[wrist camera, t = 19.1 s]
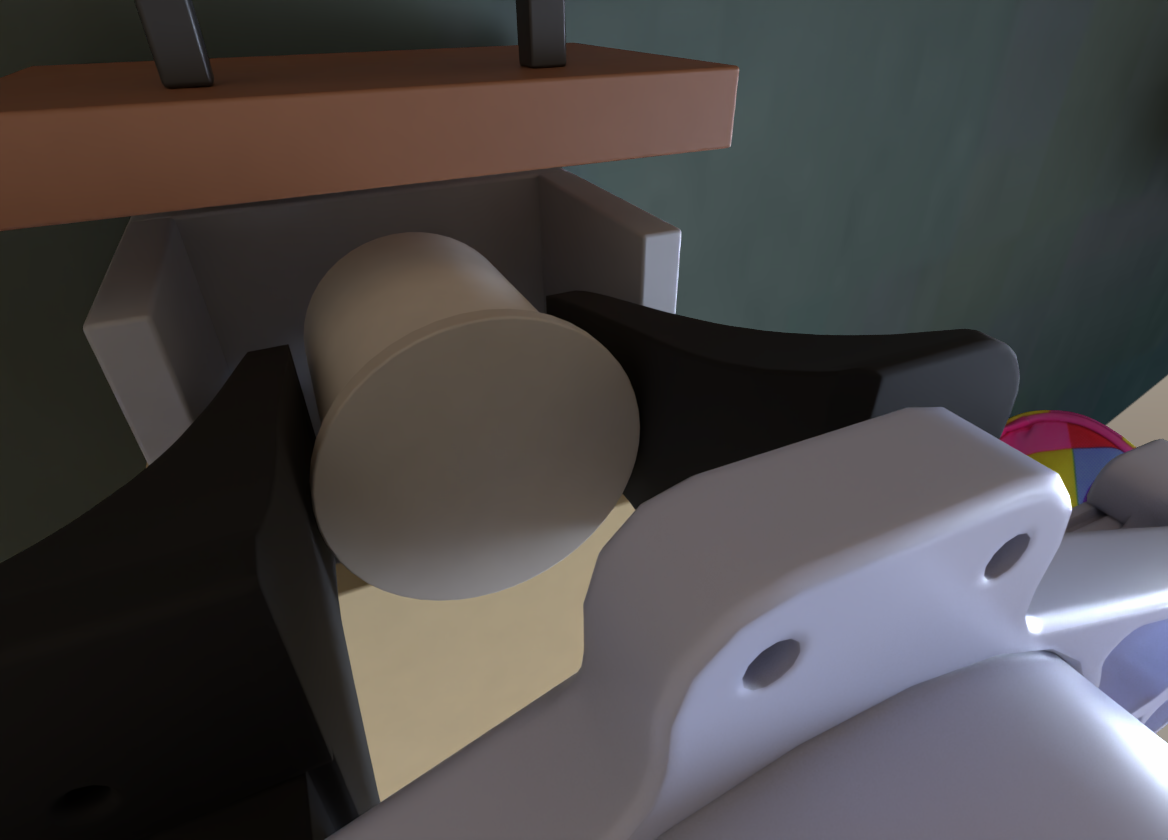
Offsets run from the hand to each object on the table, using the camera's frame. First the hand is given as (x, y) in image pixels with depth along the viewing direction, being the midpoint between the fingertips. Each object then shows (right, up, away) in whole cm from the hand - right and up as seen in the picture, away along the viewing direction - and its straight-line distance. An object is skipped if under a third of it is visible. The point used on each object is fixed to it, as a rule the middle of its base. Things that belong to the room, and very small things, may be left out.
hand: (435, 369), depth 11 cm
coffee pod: (-1, +1, +1) cm, 1 cm away
